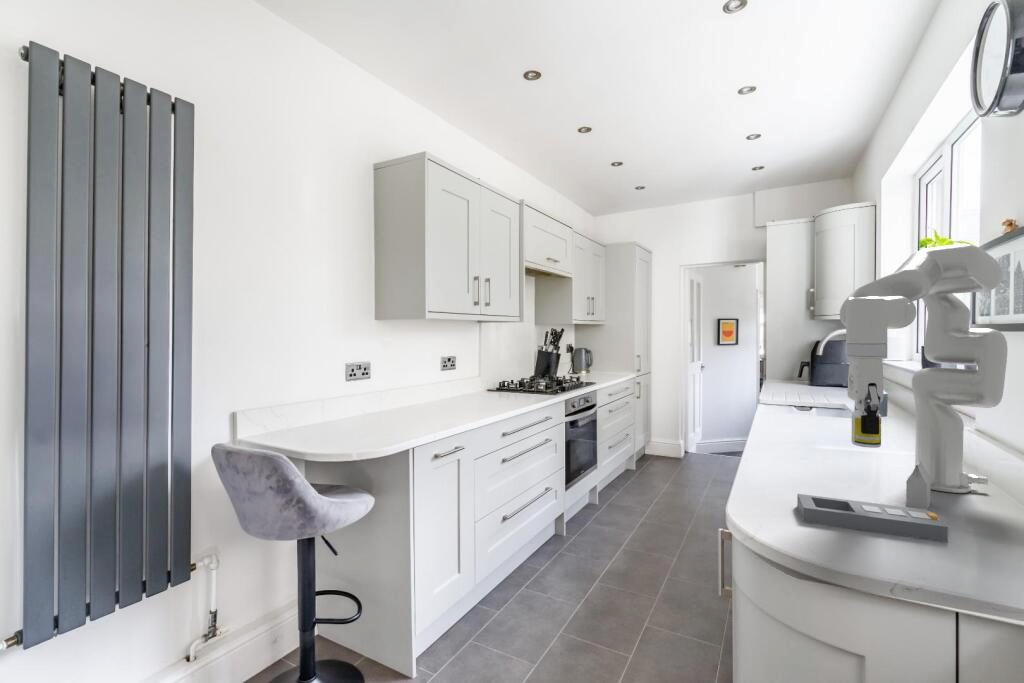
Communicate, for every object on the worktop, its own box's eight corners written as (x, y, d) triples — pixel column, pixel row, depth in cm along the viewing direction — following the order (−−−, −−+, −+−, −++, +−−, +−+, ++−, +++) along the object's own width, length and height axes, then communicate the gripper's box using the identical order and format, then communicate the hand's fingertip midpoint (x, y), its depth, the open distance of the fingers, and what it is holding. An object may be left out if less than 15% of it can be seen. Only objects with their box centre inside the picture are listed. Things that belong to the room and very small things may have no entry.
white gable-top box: (930, 503, 113) (931, 461, 113) (926, 510, 109) (927, 467, 109) (910, 499, 116) (911, 458, 116) (906, 506, 111) (906, 463, 111)
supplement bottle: (886, 448, 104) (886, 404, 104) (858, 447, 106) (858, 404, 105) (873, 442, 110) (873, 400, 109) (846, 442, 111) (846, 400, 111)
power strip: (927, 523, 101) (928, 506, 101) (947, 542, 92) (948, 523, 91) (797, 506, 111) (797, 491, 111) (803, 521, 101) (803, 504, 101)
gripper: (838, 349, 116) (838, 422, 117) (855, 353, 101) (855, 437, 101) (875, 349, 113) (875, 424, 114) (899, 353, 98) (899, 440, 98)
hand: (866, 430), depth 108 cm, fingers closed on supplement bottle, 5 cm apart
